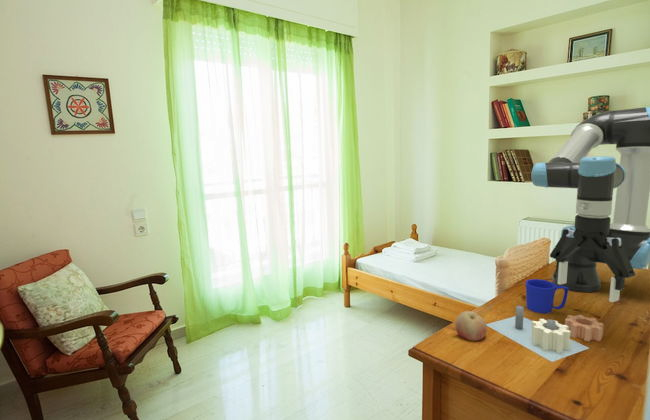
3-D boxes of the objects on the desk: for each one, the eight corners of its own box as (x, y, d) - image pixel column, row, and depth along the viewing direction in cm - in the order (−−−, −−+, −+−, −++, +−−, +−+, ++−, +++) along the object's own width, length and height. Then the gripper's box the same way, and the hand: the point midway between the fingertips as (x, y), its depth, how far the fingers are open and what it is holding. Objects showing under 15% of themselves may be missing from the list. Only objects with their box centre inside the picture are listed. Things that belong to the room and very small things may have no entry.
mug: (572, 319, 110) (574, 289, 108) (529, 317, 112) (531, 288, 111) (560, 308, 118) (562, 279, 116) (520, 306, 120) (522, 278, 119)
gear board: (519, 319, 112) (520, 295, 110) (589, 353, 92) (591, 324, 91) (485, 329, 107) (485, 304, 105) (551, 367, 87) (553, 337, 86)
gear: (536, 332, 101) (537, 315, 100) (572, 343, 95) (574, 325, 94) (526, 344, 95) (527, 327, 94) (564, 356, 89) (565, 338, 88)
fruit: (467, 349, 97) (468, 322, 95) (449, 335, 104) (450, 309, 103) (492, 344, 99) (493, 317, 97) (473, 330, 106) (473, 305, 105)
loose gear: (577, 328, 105) (578, 312, 104) (609, 341, 97) (611, 325, 96) (557, 334, 102) (558, 318, 101) (588, 349, 94) (590, 332, 93)
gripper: (539, 210, 104) (535, 279, 107) (639, 225, 81) (630, 312, 84) (556, 208, 107) (552, 275, 110) (659, 221, 84) (649, 306, 87)
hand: (586, 291), depth 97 cm, fingers open, 13 cm apart
